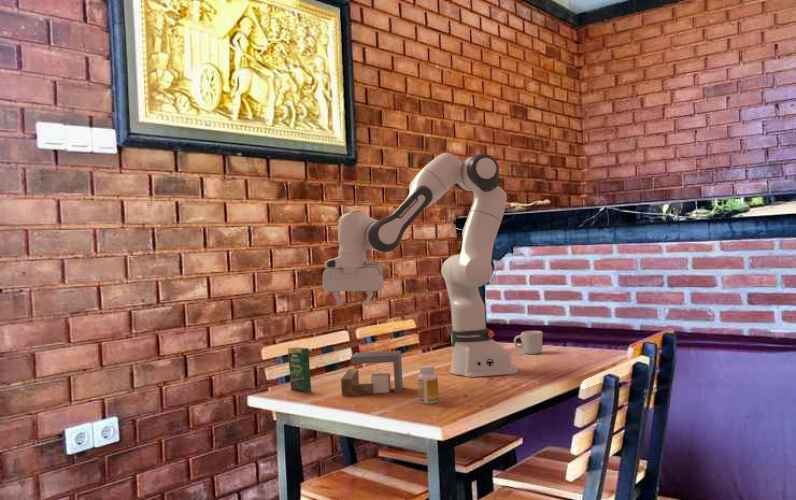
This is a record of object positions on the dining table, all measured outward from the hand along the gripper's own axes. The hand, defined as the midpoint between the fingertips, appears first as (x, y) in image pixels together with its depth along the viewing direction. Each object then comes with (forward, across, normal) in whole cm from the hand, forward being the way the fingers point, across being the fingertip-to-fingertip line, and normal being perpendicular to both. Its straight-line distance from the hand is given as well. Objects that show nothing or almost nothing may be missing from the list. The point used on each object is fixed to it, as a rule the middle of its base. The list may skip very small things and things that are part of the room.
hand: (353, 305), depth 206 cm
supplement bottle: (+25, -31, +20) cm, 45 cm away
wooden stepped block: (+25, -6, +8) cm, 27 cm away
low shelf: (+25, -12, +9) cm, 29 cm away
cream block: (+25, -13, +9) cm, 29 cm away
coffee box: (+26, +14, +11) cm, 31 cm away
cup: (+23, -46, -58) cm, 77 cm away
